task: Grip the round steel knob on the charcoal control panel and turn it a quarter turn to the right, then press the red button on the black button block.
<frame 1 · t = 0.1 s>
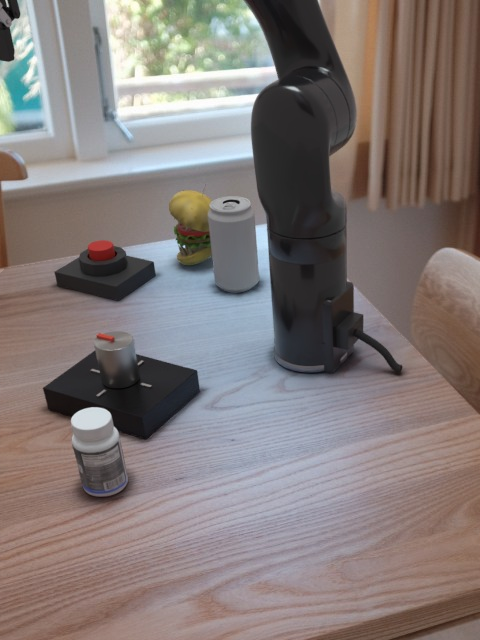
pill bottle: (106, 485, 95), on the table
panel: (125, 400, 108), on the table
knob: (117, 358, 104), point 6 cm above the table, hinge at 0.0°
button block: (107, 280, 132), on the table
beverage can: (237, 286, 131), on the table
button: (101, 251, 129), point 5 cm above the table, slide at 0.2 cm
hamburger: (200, 263, 137), on the table
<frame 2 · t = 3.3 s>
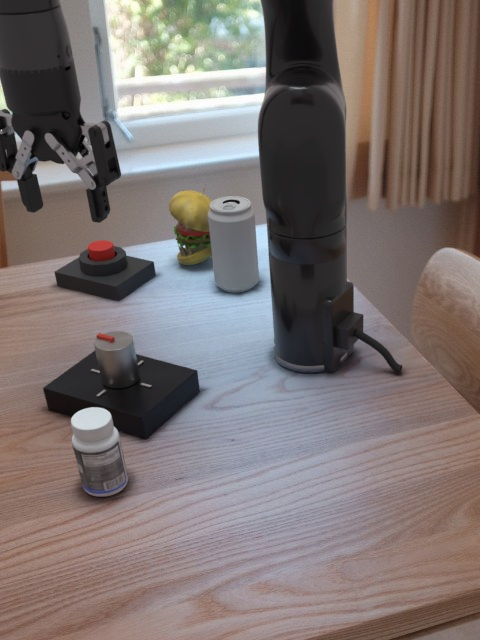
hand: (67, 215, 101), 19 cm above the table, tool pointing down, fingers open, 8 cm apart
nothing on the table moved.
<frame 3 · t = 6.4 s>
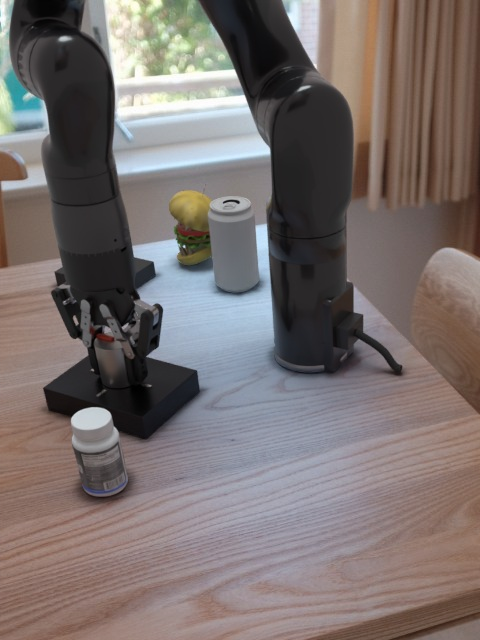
hand: (120, 376, 106), 3 cm above the table, tool pointing down, fingers closed on knob, 4 cm apart
knob: (117, 358, 104), point 6 cm above the table, hinge at 0.3°, touching gripper
everything else where it was.
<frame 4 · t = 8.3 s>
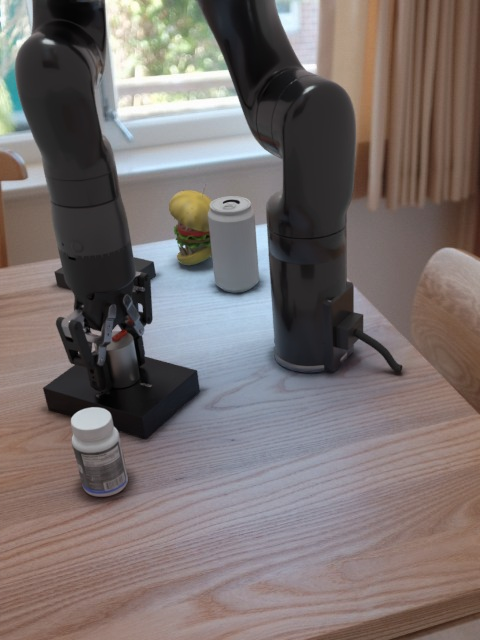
hand: (119, 376, 105), 3 cm above the table, tool pointing down, fingers open, 6 cm apart
knob: (117, 358, 104), point 6 cm above the table, hinge at -90.7°
everything else where it was.
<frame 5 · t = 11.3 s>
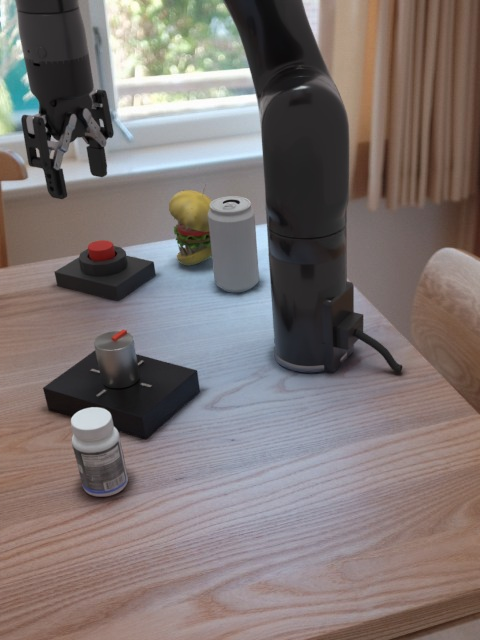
hand: (79, 186, 118), 16 cm above the table, tool pointing down, fingers open, 8 cm apart
nothing on the table moved.
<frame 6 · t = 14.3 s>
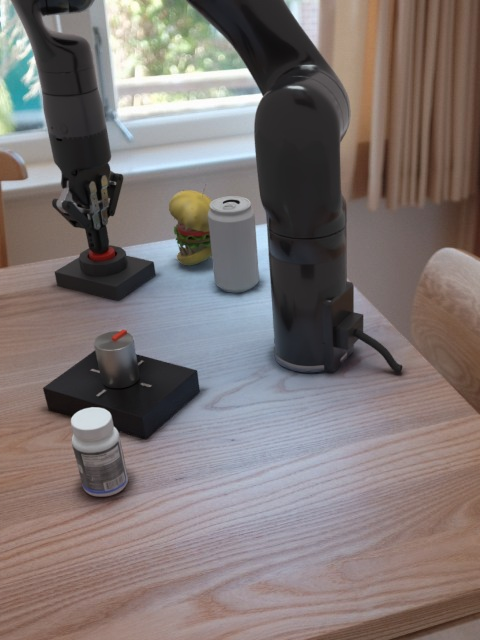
hand: (100, 251, 129), 5 cm above the table, tool pointing down, fingers closed
button: (102, 256, 130), point 4 cm above the table, slide at -0.7 cm, touching gripper
everything else where it was.
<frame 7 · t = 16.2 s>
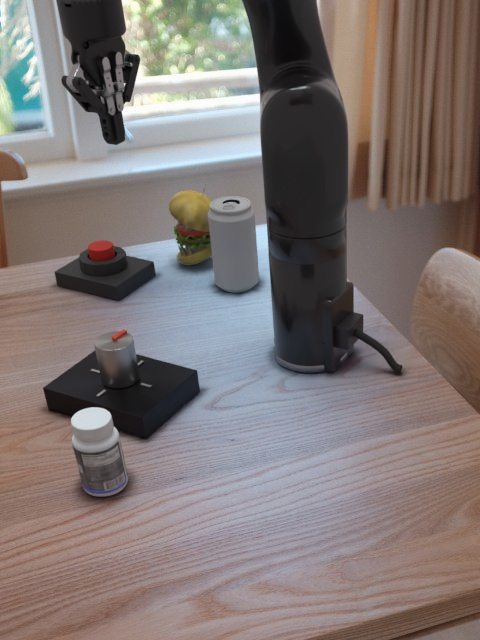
hand: (115, 142, 118), 20 cm above the table, tool pointing down, fingers closed
button: (101, 251, 130), point 5 cm above the table, slide at 0.1 cm
everything else where it was.
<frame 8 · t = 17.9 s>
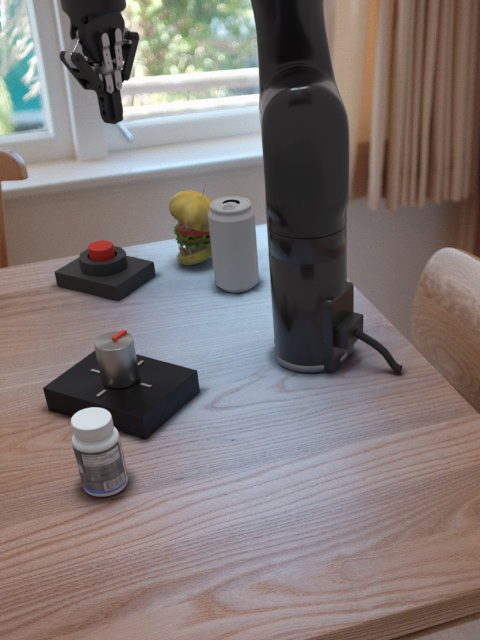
hand: (113, 121, 116), 23 cm above the table, tool pointing down, fingers closed
nothing on the table moved.
at the end: knob at -91° (first picture: +0°); button pushed in 1.1 cm at the most during the clip, back to where it started at the end; button slide at 0.1 cm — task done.
